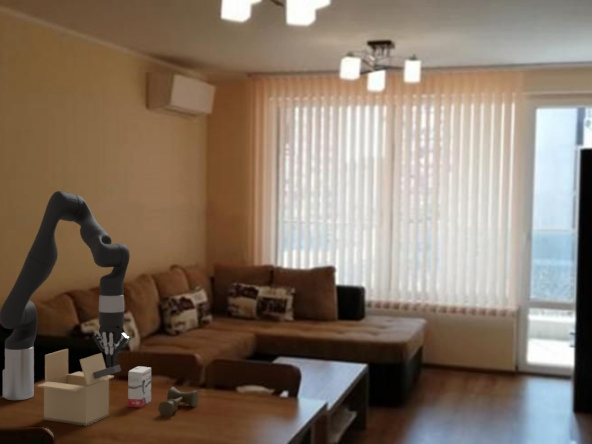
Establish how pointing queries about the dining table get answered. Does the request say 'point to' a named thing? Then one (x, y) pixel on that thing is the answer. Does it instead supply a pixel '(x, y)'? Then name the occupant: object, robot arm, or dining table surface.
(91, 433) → the dining table surface
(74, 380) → the carton
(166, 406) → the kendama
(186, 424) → the dining table surface
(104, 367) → the flap
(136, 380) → the ink box
